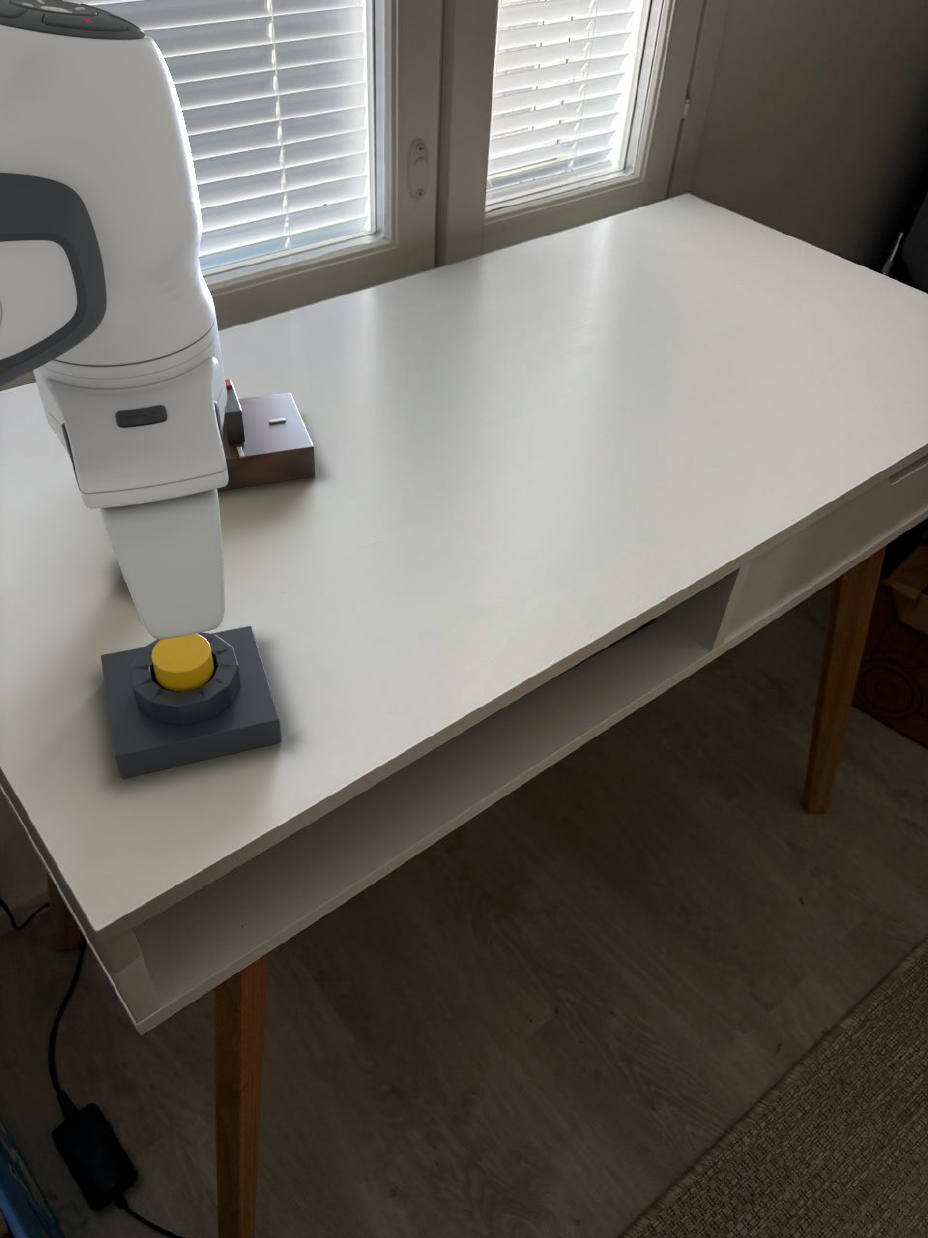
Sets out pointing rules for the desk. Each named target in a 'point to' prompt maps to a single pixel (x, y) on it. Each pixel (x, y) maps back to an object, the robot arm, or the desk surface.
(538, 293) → the desk surface
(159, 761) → the button block
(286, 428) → the dial panel
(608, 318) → the desk surface
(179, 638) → the trigger button
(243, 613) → the desk surface
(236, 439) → the dial knob
